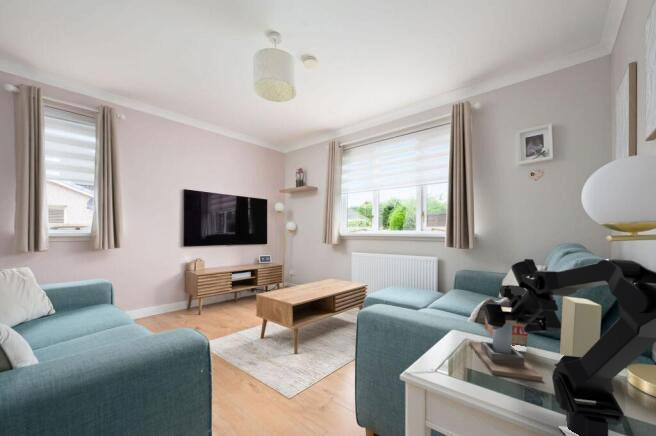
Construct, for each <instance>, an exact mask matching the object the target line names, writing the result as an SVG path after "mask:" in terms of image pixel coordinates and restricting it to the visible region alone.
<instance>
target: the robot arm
mask: <svg viewBox="0 0 656 436" xmlns="http://www.w3.org/2000/svg"><path fill="white" fill-rule="evenodd" d="M510 267H511V268H510V269H511V271H512V273H513V275H514V278H515V280H516V282H517V285H511V284H507V285H504V284H503V285H501V286H500V288H499V291H498V293H499V294H500V296H501V297H502V298H506V299H507V300H508V303H507V305H508V308H512V309H511V312H508V311H503V310H502V307H503V306H502V305H501V304H500V303H497V302H485V304H484V305H483V306H482V308H483V312H484V316H485V315H486V319H487V322H488V324H490V325H492V328H493V329H498V328H502V327H503V325H505V323H506V320H508V321H517V323H521V324H527V325H526V326H525V328H524V331H525V332H528V333H539V332H541V333H542V332H544V333H545V332H546V333H547V332H558V331H559V330H560V331H561V327H562V321H561V320H560V318H559V317H558V314H557V312H558V311H559V305H557V301H556V298H555V296H559V297H570V296H571V295H574V294H576V293H578V290H580V289H584V288H592V287H600V286H607V285H608V288H609V292H610V293H611V295H612V296H614V297H615V298H616V299H617V300H618V303H617V306H618V308H619V309H618V310H619V313H620V316H619V318H618V319H617V320H616V321H615V322H614V323H613V324H612V325H611V326H610V327H609V329H608V330H607V331H605V333H604V334H603V335H602V336H600V339H599V340H598V341H597V342H596V343H595V344H594V345H593V346H592V347H591V348H590V349H589V350H588V351H587V352H586V354H585V355H584V356H583V357H576V356H566V355H565V356H563V357H562V358H561V359H560V358H559V359H560V360H559V361H558V362H557V363H554V366H555V368H554V370H553V372H552V377H551V378H552V379H551V380H552V384H553V390H554V395H555V400H556V402H557V404H559V408H560V409H561V410H564V411H566V416H565V422H566V421H567V427H568V429H569V430H571V431H572V432H574V433H576V434H578V435H579V436H609V428H610V426H609V424H610V423H609V422H608V420H609V421H616V422H622V420H623V418H624V415H625V413H624V412H623V410H622V408H621V406H620V405H619V403H618V401H617V399H616V398H615V395H614V393H613V392H614V391H615V386H614V383H613V379H614V378H615V377H616V376H617V375H619V374H620V373H621V372H623V370H624V369H626V368H627V367H628V366H629V365H630V364H632V363H634V361H635V360H637V359H638V358H639V357H640V356H641V355H642V354H644V352H646V351H647V350H648V349H649V348H651V347H652V346H653V345H654V344H656V271H654V270H652V269H648V268H647V267H646V266H644V265H642V264H641V263H639V262H636V261H634V260H631V259H616V258H615V259H614V258H605V259H602V260H600V261H598V262H595V263H590V264H589V263H588V264H585V265H581V266H578V267H577V266H576V267H573V268H567V269H564V270H539V269H538V268H537V265H536V263H535V261H534V259H533V258H524V260H523V261H522V260H521V261H519V262H516V263H514V264H512V265H511V266H510Z"/></svg>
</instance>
